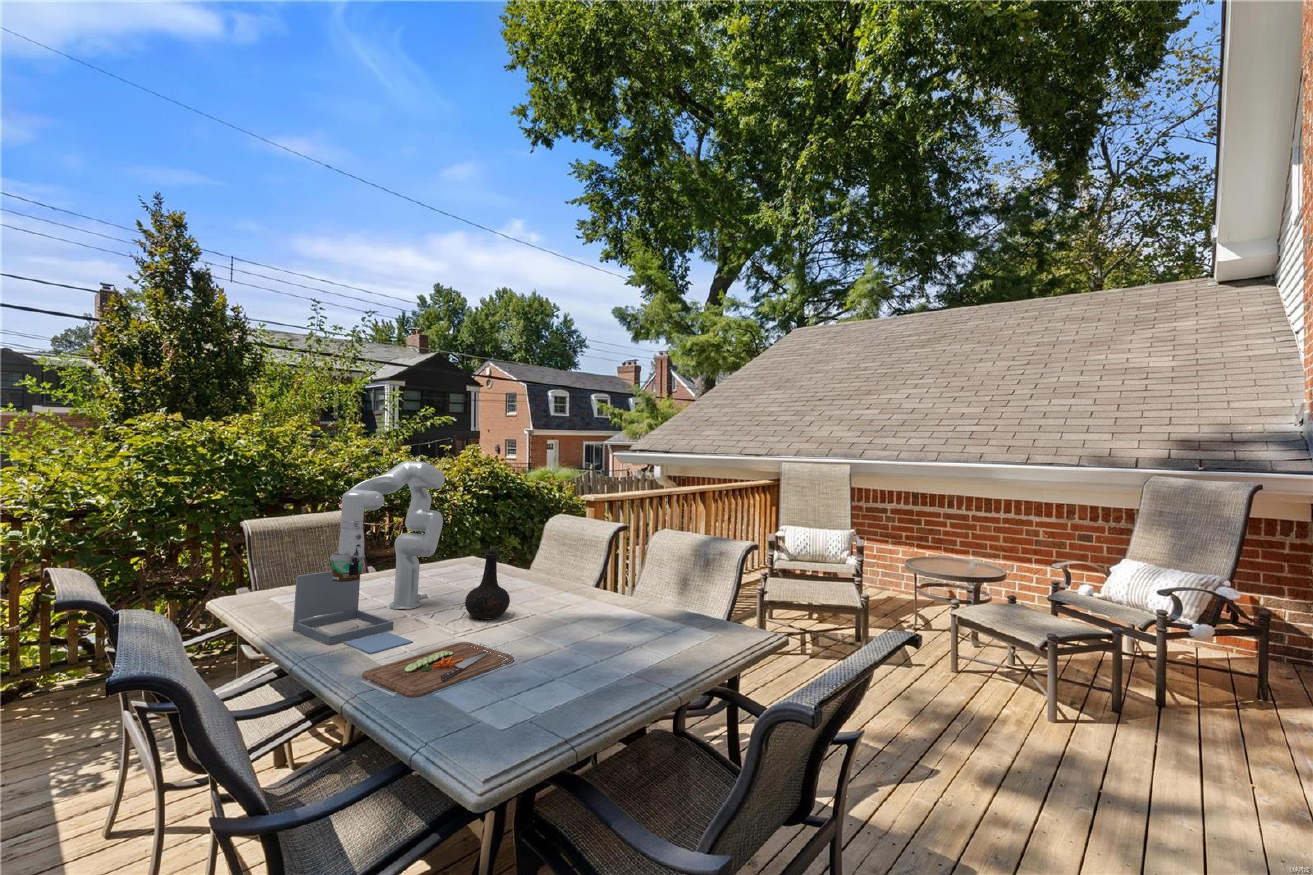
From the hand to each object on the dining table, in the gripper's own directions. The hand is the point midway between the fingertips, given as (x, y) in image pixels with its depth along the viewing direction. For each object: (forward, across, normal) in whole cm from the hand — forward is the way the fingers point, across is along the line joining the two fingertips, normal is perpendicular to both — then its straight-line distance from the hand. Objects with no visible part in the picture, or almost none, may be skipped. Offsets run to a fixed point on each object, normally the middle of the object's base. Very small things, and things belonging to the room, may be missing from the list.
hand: (349, 573), depth 218 cm
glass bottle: (+22, -23, -47) cm, 57 cm away
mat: (+21, -22, 0) cm, 30 cm away
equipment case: (+21, 0, 0) cm, 21 cm away
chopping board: (+22, -57, 0) cm, 61 cm away
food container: (+3, -1, 0) cm, 3 cm away
